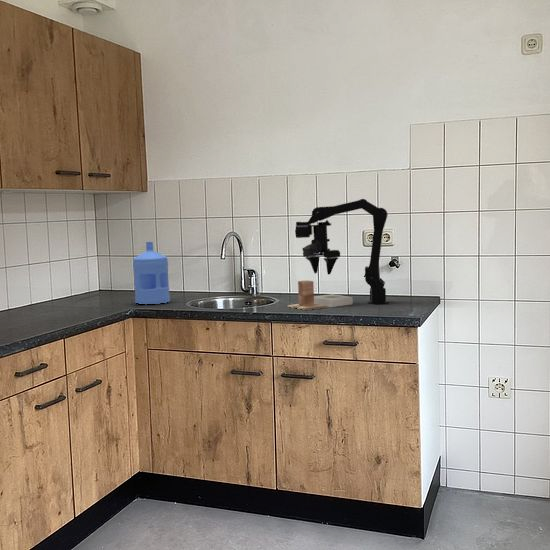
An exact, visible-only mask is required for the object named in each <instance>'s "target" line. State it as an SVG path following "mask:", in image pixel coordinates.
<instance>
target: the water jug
mask: <svg viewBox="0 0 550 550" xmlns="http://www.w3.org/2000/svg"><path fill="white" fill-rule="evenodd" d="M153 243H154V241H146V242H145V245H146V246H145V247H146V249H145V251H144V252H143V253H140V254H139V255H137V256H136V257H134V258H133V259H132V267H133V278H134V281H133V283H134V284H133V285H134V296H135V298H134V302H135V304H136V303H139V304H160V303H165V304H168V303H170V301H171V297H170V286H169V260H168V257H167V256H166V255H164V254H162V253H160V252H157V251H155V250H154V245H153ZM167 302H168V303H167ZM160 305H161V304H160Z"/></svg>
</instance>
